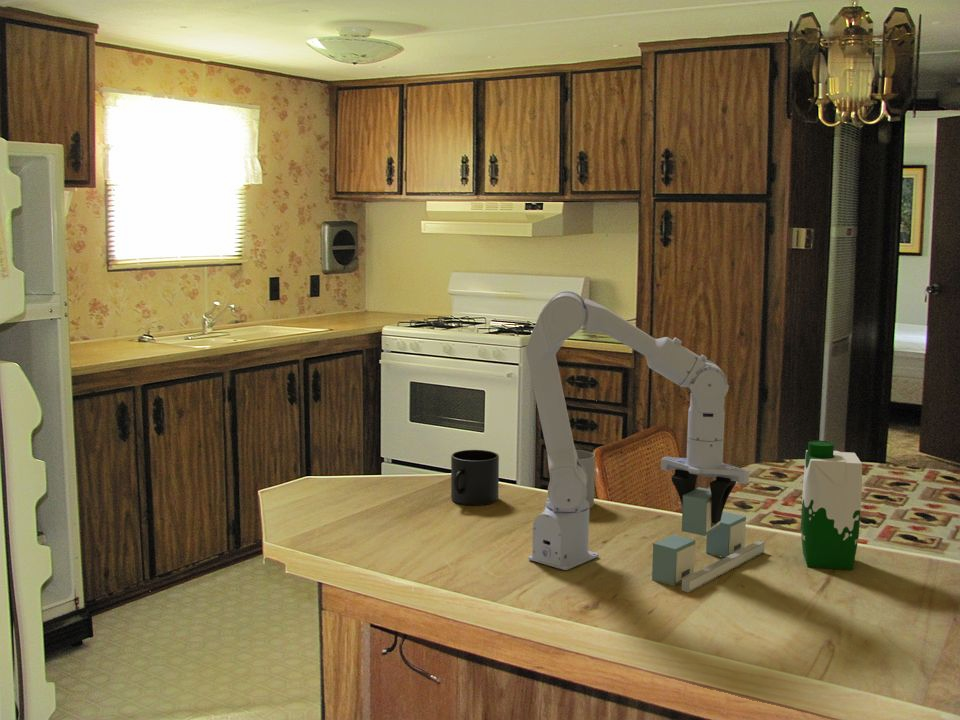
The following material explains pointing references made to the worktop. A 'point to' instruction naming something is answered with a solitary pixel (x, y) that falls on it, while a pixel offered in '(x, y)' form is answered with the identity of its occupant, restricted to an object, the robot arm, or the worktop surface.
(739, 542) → the tea box
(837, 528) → the milk carton
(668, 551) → the tea box
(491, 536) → the worktop surface
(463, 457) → the mug
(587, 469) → the cup
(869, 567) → the worktop surface
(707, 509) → the tea box
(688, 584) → the rail
